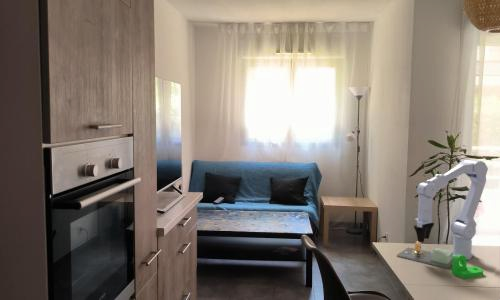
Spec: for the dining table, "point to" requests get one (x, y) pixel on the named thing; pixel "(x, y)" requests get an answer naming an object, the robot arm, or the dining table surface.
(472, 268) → the mechanical part
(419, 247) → the t key
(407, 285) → the dining table surface
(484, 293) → the dining table surface
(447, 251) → the cover
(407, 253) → the latch plate
